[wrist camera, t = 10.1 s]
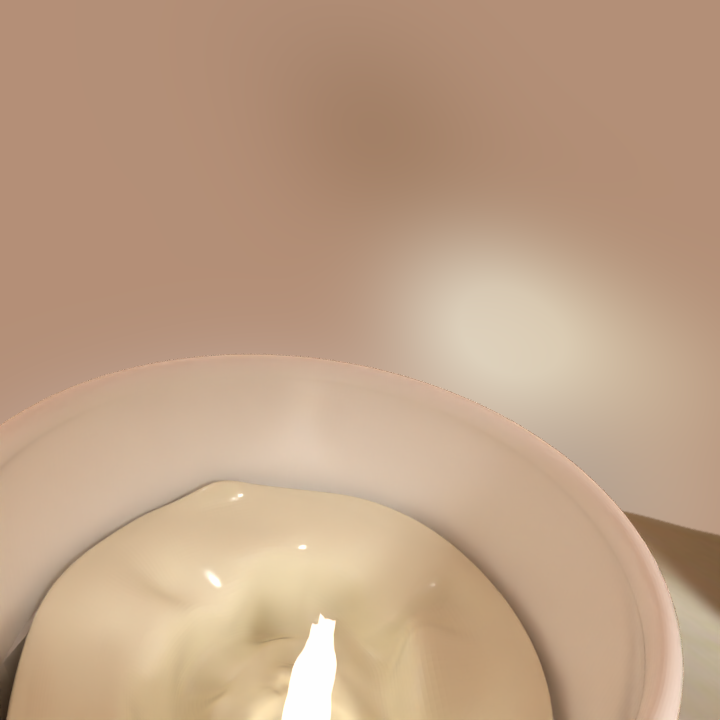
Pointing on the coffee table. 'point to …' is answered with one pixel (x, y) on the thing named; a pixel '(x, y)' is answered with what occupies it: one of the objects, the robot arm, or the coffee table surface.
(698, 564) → the coffee table surface
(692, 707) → the coffee table surface
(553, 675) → the candle holder
